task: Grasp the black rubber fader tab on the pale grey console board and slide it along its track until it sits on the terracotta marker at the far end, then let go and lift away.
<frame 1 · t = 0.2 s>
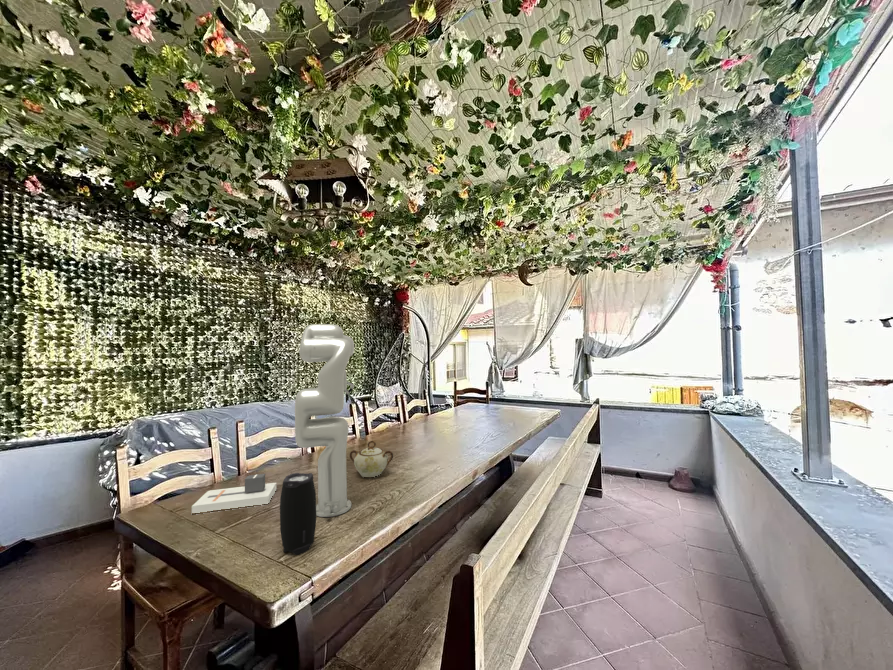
hand: (336, 403, 162), 31 cm above the table, tool pointing down, fingers open, 9 cm apart
portable speaker: (298, 548, 95), on the table
sugar bowl: (371, 475, 151), on the table
fader tab: (255, 482, 129), point 6 cm above the table, slide at -6.0 cm
console board: (237, 501, 127), on the table
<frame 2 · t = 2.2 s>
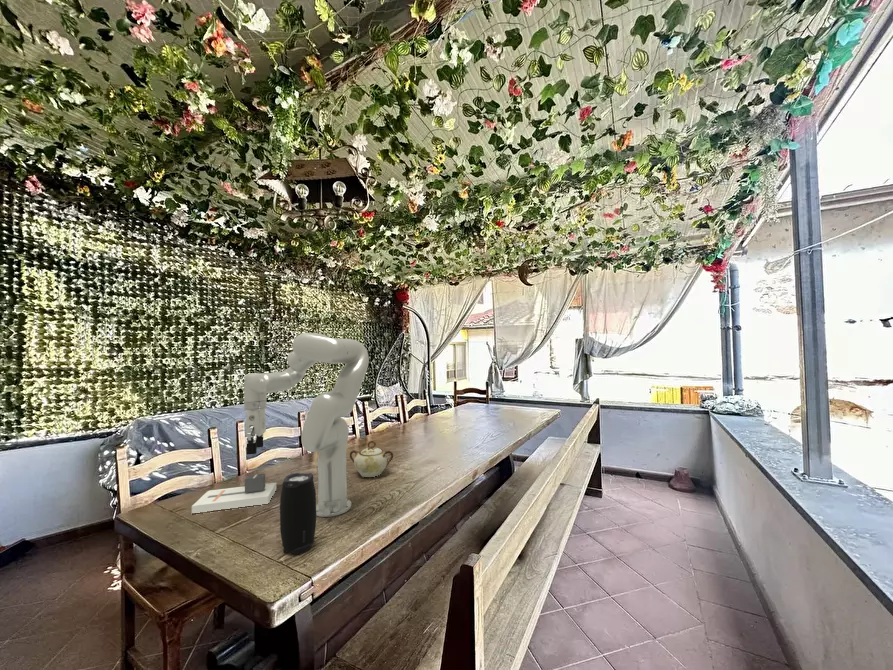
hand: (255, 450, 129), 18 cm above the table, tool pointing down, fingers open, 9 cm apart
nothing on the table moved.
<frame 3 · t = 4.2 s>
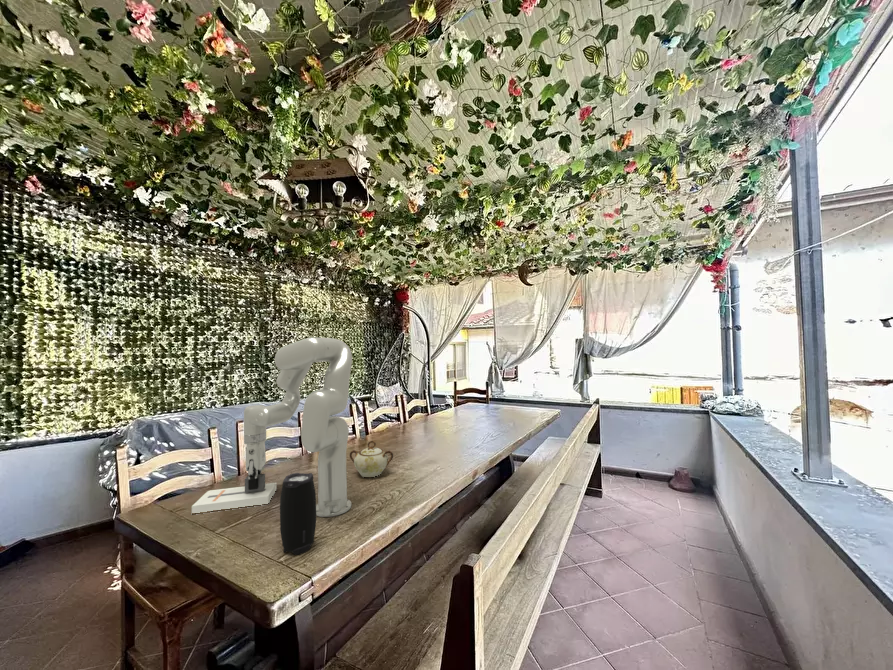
hand: (255, 486, 128), 5 cm above the table, tool pointing down, fingers closed on fader tab, 4 cm apart
fader tab: (255, 482, 129), point 6 cm above the table, slide at -6.0 cm, touching gripper
everything else where it was.
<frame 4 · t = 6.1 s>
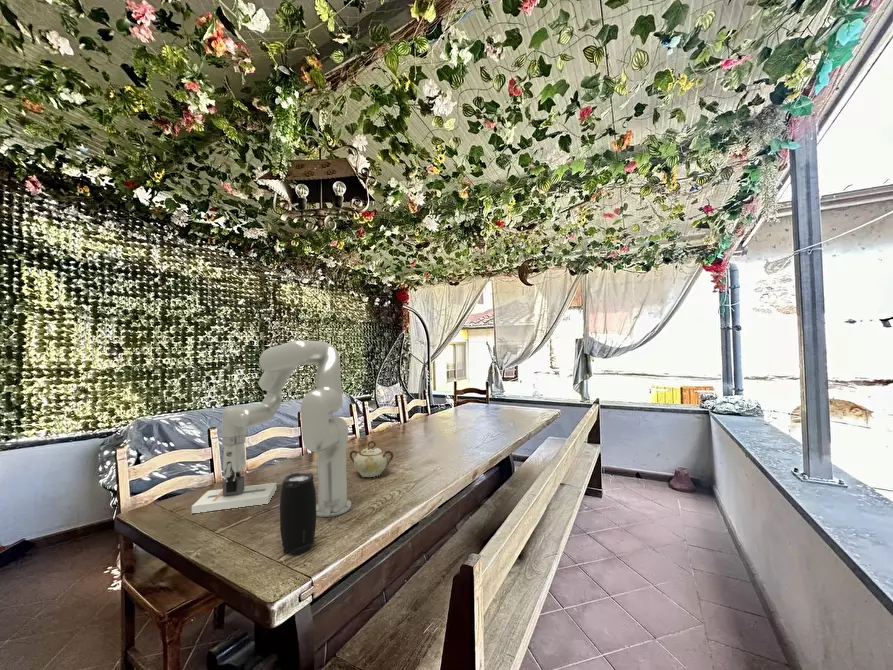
hand: (233, 488, 127), 5 cm above the table, tool pointing down, fingers closed on fader tab, 4 cm apart
fader tab: (233, 485, 127), point 6 cm above the table, slide at 1.2 cm, touching gripper
everything else where it was.
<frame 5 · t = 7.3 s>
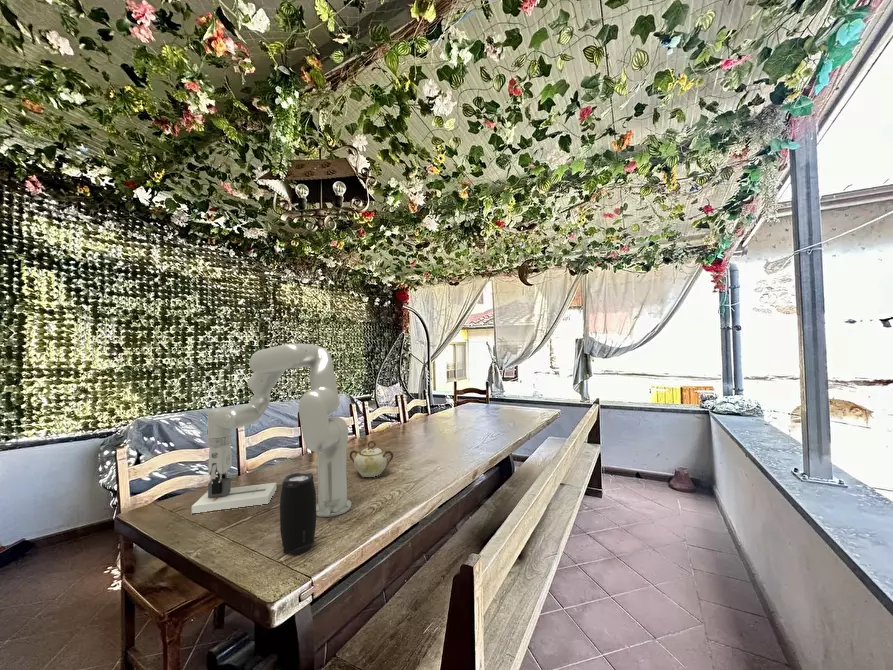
hand: (219, 490, 125), 5 cm above the table, tool pointing down, fingers closed on fader tab, 4 cm apart
fader tab: (219, 487, 125), point 6 cm above the table, slide at 5.9 cm, touching gripper
everything else where it was.
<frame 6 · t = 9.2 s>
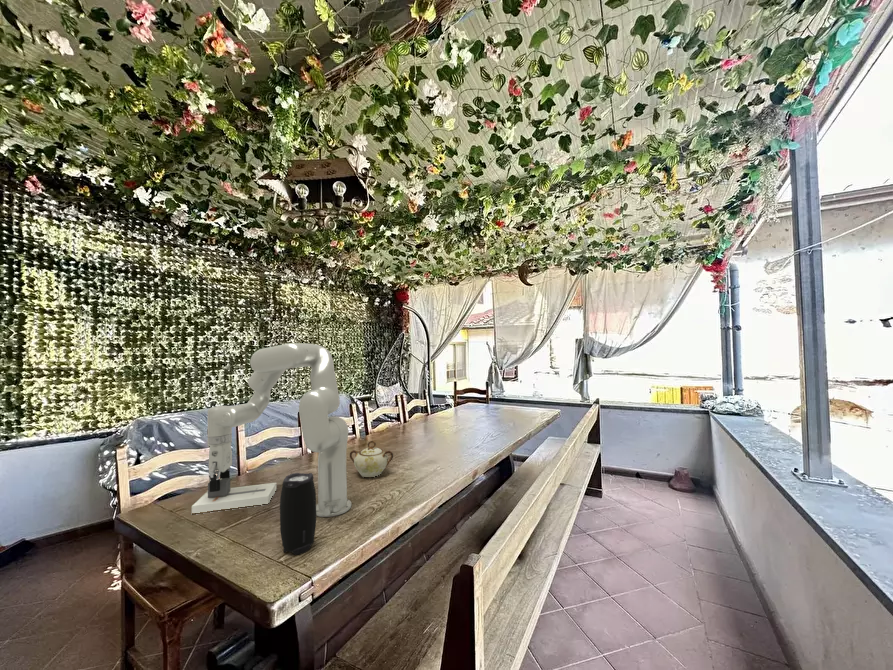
hand: (220, 486, 125), 6 cm above the table, tool pointing down, fingers open, 9 cm apart
fader tab: (219, 487, 125), point 6 cm above the table, slide at 6.0 cm
everything else where it was.
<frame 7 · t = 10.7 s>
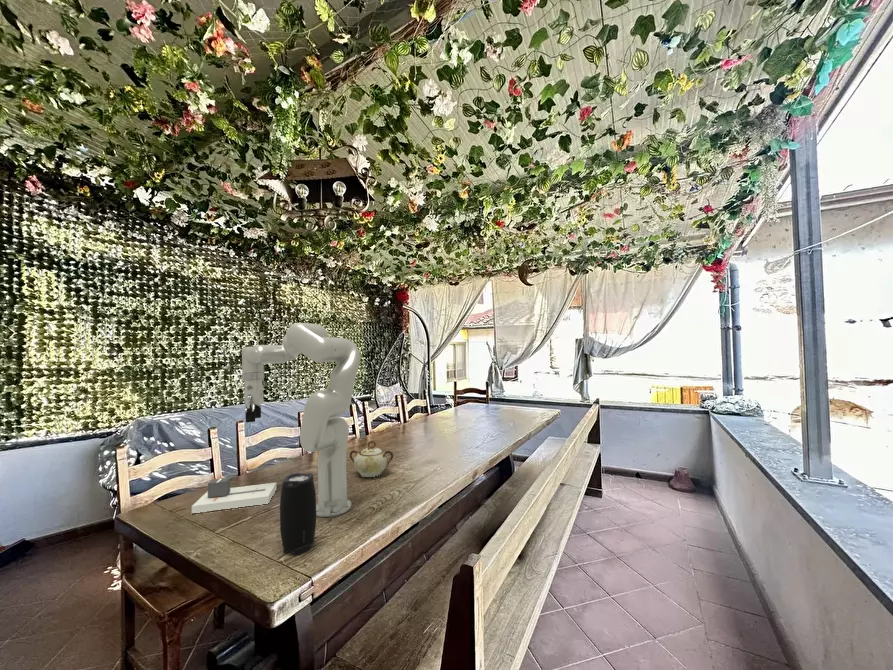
hand: (253, 419, 135), 29 cm above the table, tool pointing down, fingers open, 9 cm apart
nothing on the table moved.
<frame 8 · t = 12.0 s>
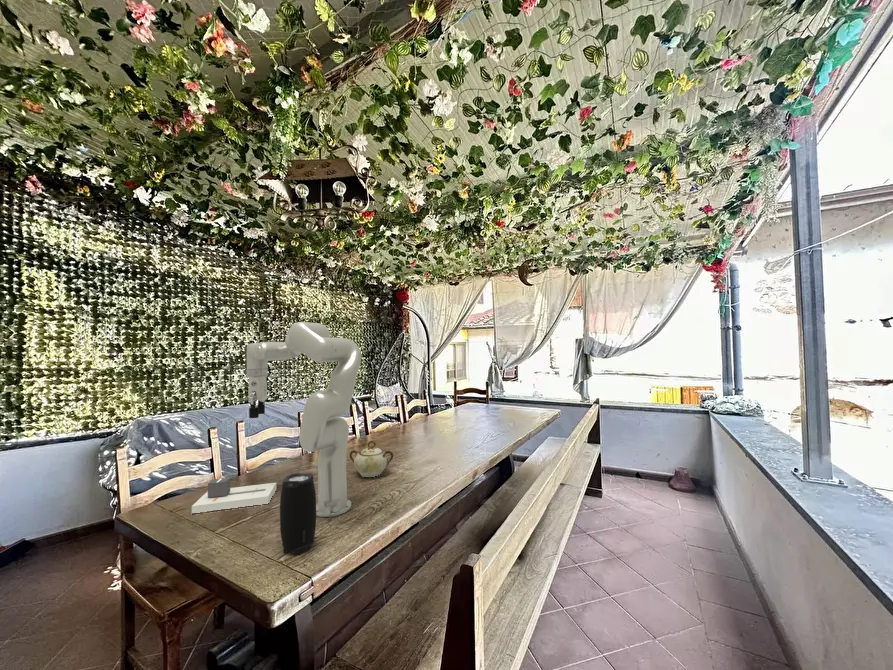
hand: (257, 415, 136), 30 cm above the table, tool pointing down, fingers open, 9 cm apart
nothing on the table moved.
at the end: fader tab slide at 6.0 cm; the gripper is holding nothing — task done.
